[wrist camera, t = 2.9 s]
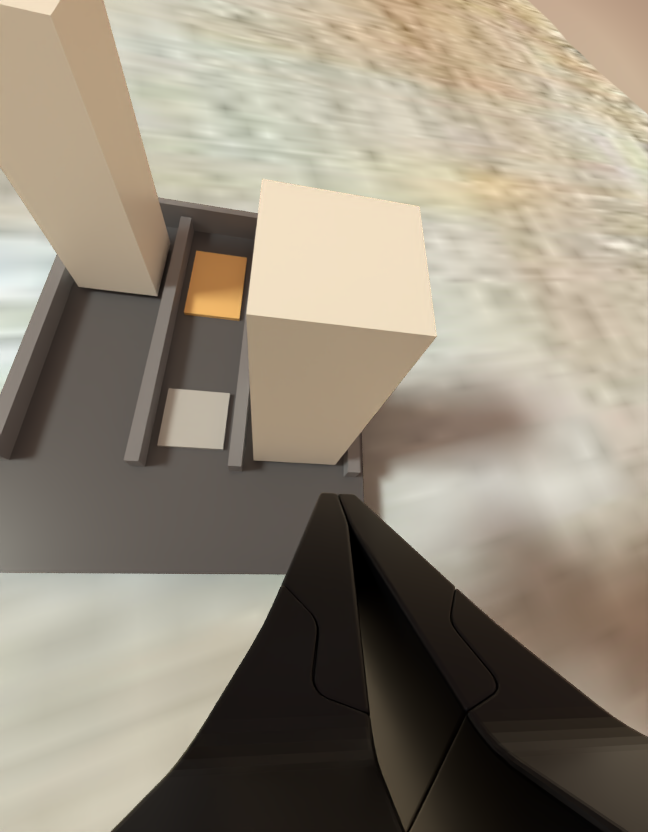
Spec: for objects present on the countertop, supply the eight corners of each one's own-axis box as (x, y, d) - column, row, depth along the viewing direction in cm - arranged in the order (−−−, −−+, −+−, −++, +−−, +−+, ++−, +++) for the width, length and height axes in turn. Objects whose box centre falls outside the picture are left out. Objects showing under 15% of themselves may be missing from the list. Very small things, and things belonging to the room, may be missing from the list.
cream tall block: (335, 464, 18) (437, 336, 8) (253, 460, 17) (246, 314, 7) (335, 392, 19) (419, 206, 9) (260, 386, 18) (262, 179, 8)
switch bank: (359, 574, 17) (376, 576, 15) (-38, 571, 15) (-101, 573, 12) (351, 264, 25) (361, 230, 22) (90, 226, 22) (68, 183, 20)
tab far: (157, 296, 19) (50, 15, 9) (78, 286, 19) (-125, -24, 9) (170, 243, 21) (90, -48, 11) (97, 232, 20) (-58, -85, 10)
